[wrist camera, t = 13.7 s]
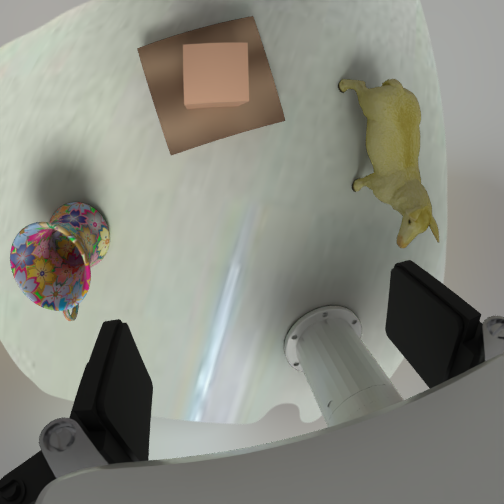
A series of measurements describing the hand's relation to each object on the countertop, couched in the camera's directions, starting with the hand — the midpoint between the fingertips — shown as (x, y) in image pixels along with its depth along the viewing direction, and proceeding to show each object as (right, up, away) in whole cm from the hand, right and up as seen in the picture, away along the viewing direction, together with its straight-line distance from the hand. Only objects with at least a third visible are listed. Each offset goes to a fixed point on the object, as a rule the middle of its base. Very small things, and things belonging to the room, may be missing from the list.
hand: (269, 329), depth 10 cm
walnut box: (-5, +21, +22) cm, 31 cm away
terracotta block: (-5, +19, +17) cm, 26 cm away
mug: (-22, +4, +26) cm, 34 cm away
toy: (+13, +16, +27) cm, 34 cm away
